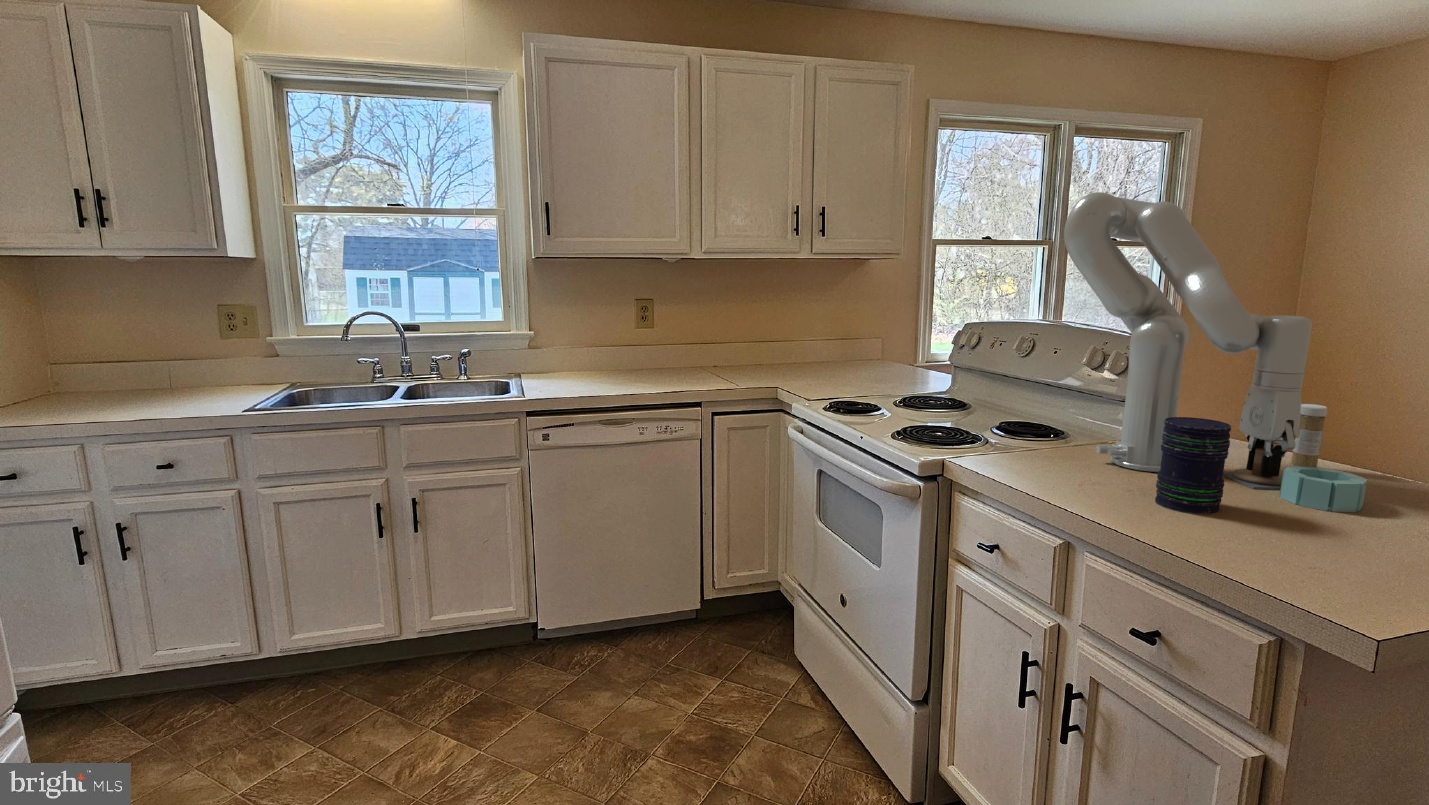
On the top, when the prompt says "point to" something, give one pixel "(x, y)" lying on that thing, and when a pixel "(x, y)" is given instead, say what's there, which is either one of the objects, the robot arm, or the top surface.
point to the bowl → (1323, 489)
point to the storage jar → (1192, 465)
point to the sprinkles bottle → (1309, 435)
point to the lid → (1257, 472)
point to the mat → (1249, 484)
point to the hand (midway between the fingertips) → (1262, 472)
